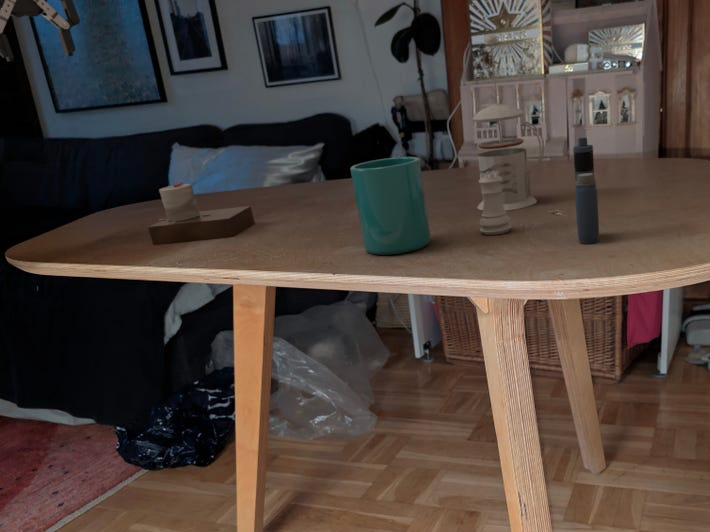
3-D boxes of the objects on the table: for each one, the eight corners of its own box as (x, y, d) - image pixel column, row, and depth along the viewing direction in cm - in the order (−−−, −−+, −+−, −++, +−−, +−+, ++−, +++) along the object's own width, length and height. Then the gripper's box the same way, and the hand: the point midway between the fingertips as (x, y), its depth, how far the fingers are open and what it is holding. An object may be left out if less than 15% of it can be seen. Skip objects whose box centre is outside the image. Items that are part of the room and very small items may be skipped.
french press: (488, 198, 120) (471, 38, 110) (554, 195, 116) (542, 29, 106) (468, 212, 111) (447, 40, 101) (538, 209, 107) (524, 30, 97)
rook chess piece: (494, 226, 100) (488, 169, 97) (518, 228, 97) (512, 169, 94) (473, 234, 97) (466, 175, 94) (497, 236, 94) (490, 176, 91)
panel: (149, 245, 117) (143, 226, 115) (176, 231, 126) (171, 213, 125) (233, 236, 115) (228, 217, 114) (254, 222, 124) (250, 205, 123)
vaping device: (597, 232, 90) (592, 136, 85) (600, 243, 85) (595, 141, 80) (577, 234, 90) (571, 138, 86) (578, 245, 86) (572, 143, 81)
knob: (192, 219, 117) (183, 186, 115) (162, 222, 117) (152, 189, 115) (204, 212, 122) (195, 180, 120) (175, 216, 122) (166, 184, 120)
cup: (443, 231, 101) (432, 151, 97) (421, 254, 90) (407, 165, 86) (384, 235, 103) (371, 157, 99) (355, 258, 92) (339, 171, 88)
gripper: (-51, -63, 99) (-6, 61, 106) (59, -63, 107) (94, 52, 114) (-57, -53, 104) (-14, 64, 111) (48, -53, 113) (82, 56, 119)
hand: (41, 58), depth 112 cm, fingers open, 8 cm apart
